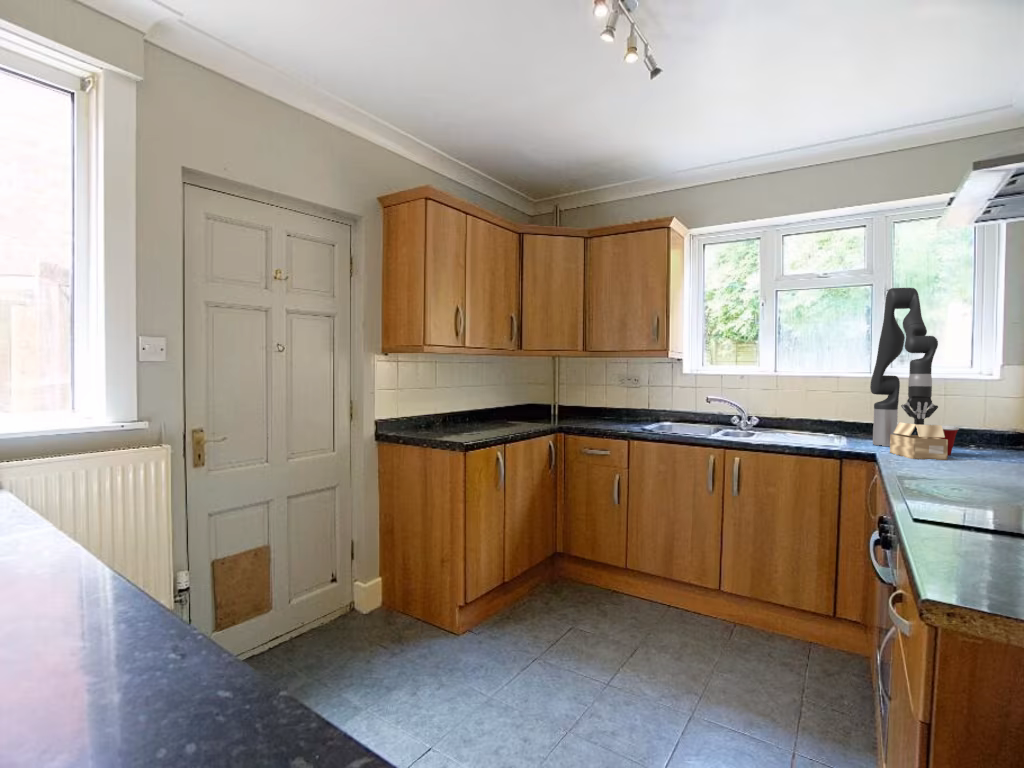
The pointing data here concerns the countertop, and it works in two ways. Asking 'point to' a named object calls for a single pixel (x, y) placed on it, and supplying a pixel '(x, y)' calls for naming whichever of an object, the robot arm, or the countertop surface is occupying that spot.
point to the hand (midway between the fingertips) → (918, 428)
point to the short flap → (930, 431)
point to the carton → (919, 447)
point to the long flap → (904, 428)
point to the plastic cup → (949, 436)
